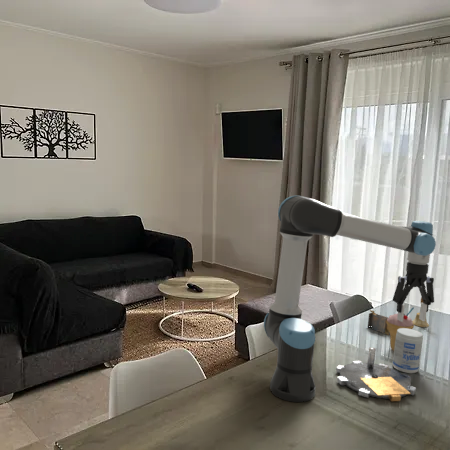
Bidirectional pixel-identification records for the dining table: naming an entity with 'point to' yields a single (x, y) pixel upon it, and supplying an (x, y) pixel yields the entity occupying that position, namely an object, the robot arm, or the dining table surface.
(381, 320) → the ruin model on sheet
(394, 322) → the ice cream cone
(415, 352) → the supplement tub
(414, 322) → the hand bell
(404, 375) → the sprocket
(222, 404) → the dining table surface
